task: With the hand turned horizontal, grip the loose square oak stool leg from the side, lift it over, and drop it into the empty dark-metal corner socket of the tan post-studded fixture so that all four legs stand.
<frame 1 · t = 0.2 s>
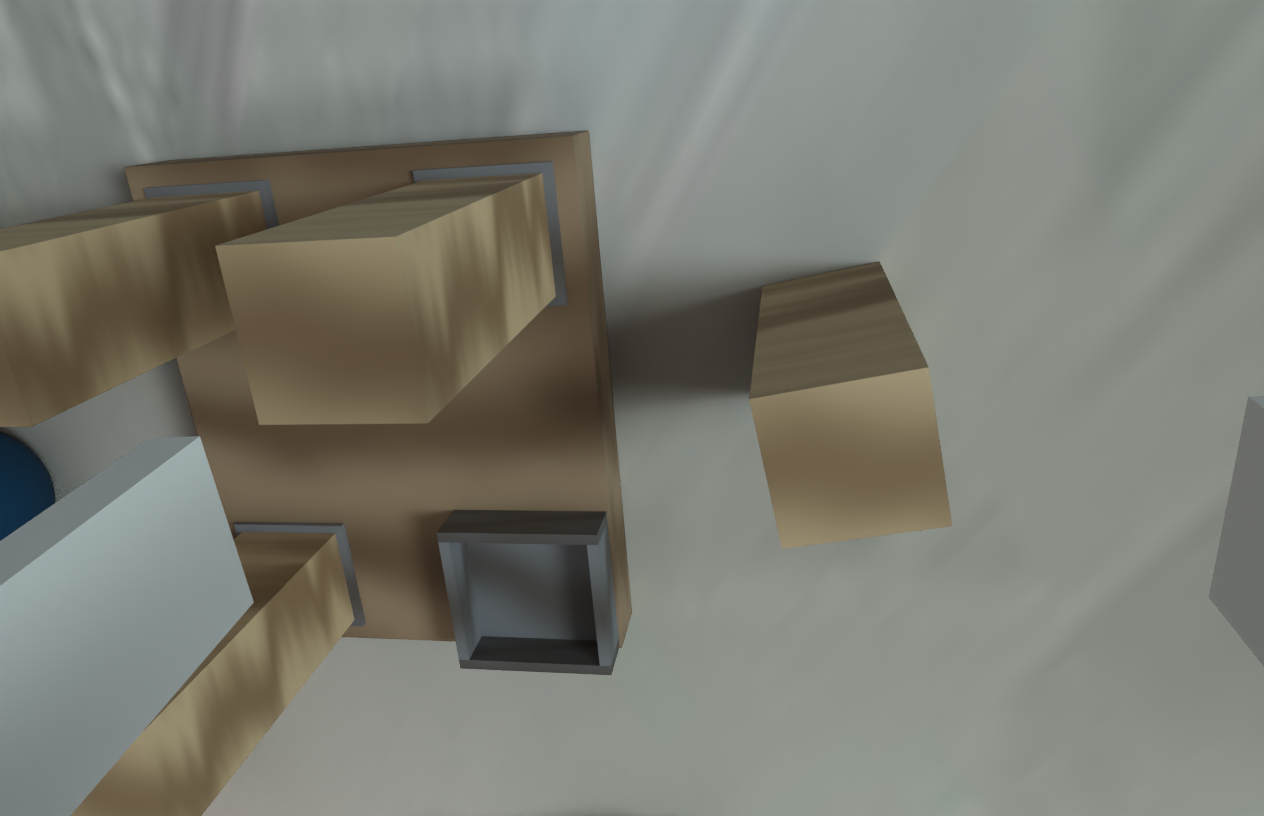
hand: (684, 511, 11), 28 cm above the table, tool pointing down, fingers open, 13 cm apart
christmas ornament: (26, 470, 49), on the table
tan post-studded fixture: (413, 399, 43), on the table
stool leg: (830, 329, 38), on the table
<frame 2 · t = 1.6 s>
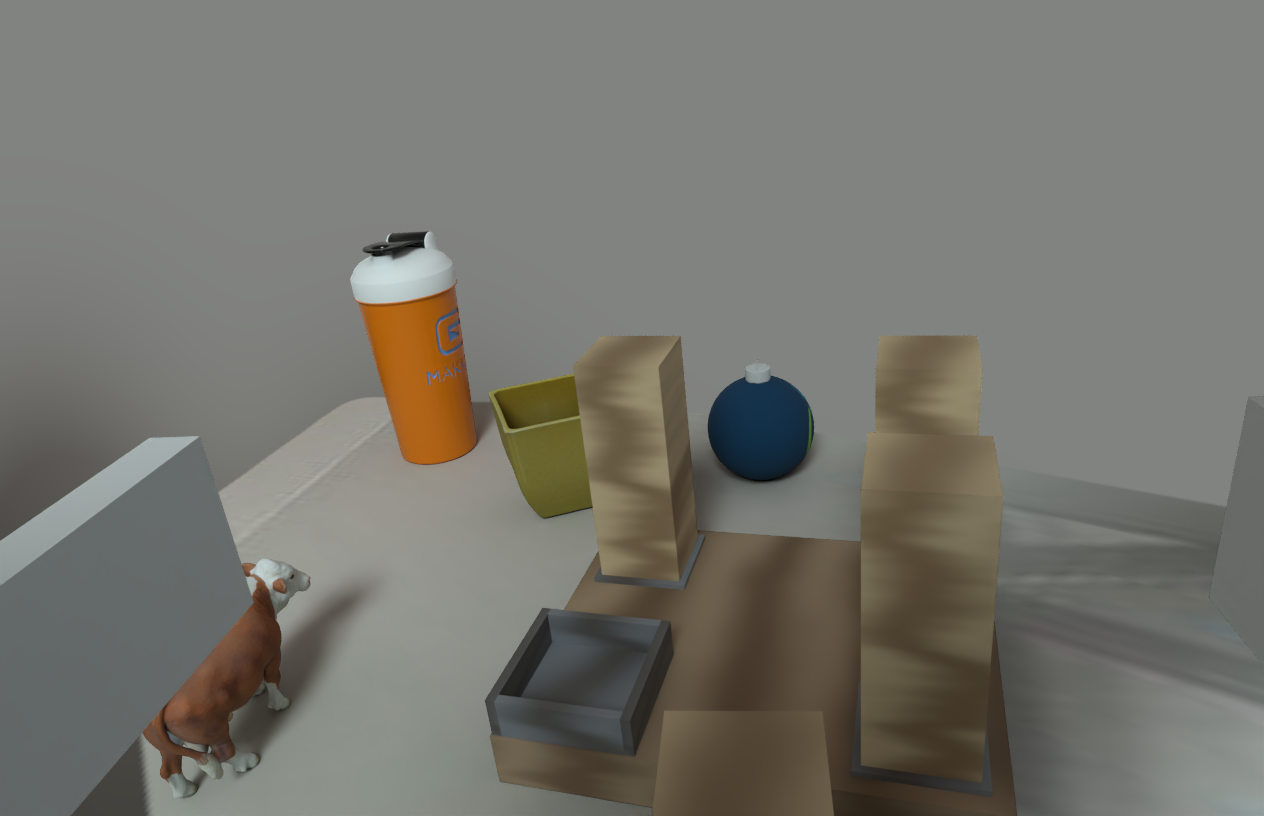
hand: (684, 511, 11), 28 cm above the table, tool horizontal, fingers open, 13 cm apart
christmas ornament: (762, 475, 71), on the table
tan post-studded fixture: (766, 676, 49), on the table
bull figurine: (256, 727, 50), on the table
shaker bottle: (440, 449, 82), on the table
flower pot: (567, 501, 71), on the table
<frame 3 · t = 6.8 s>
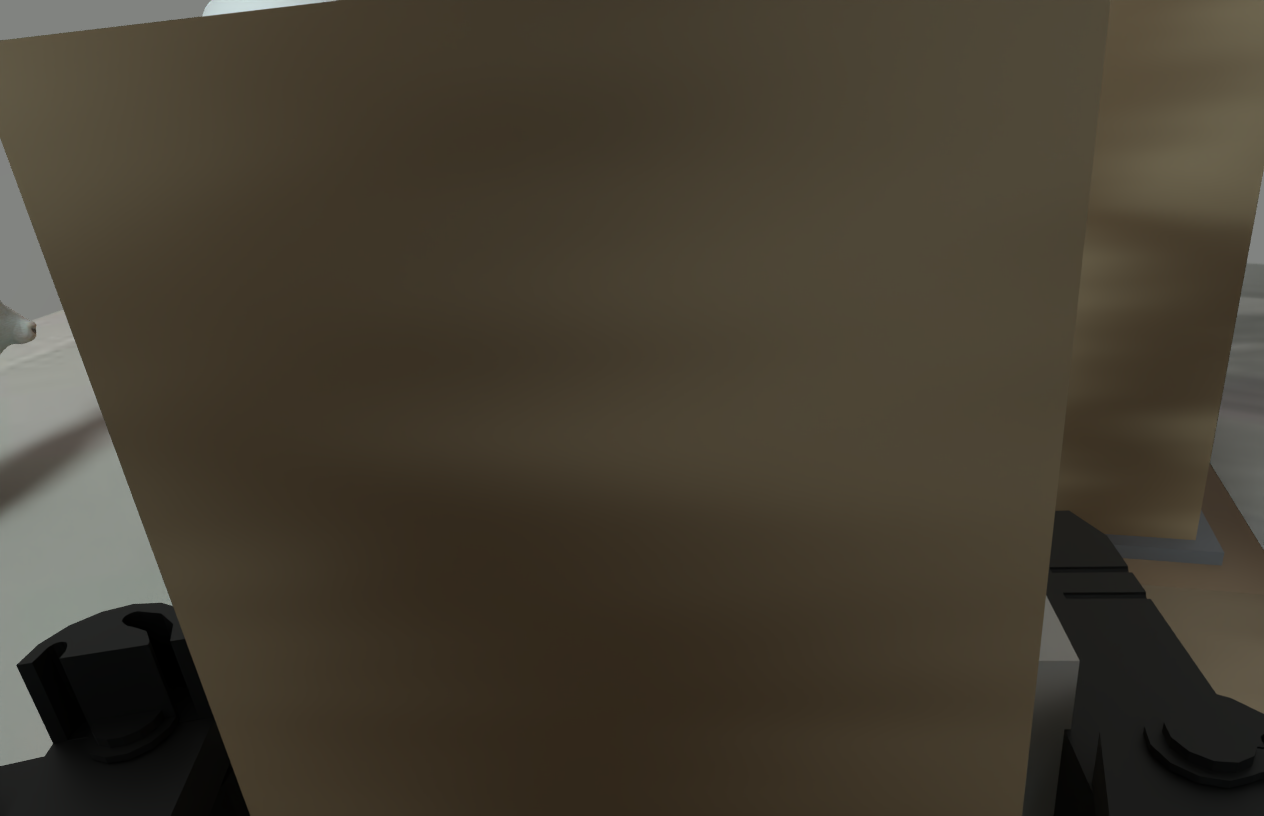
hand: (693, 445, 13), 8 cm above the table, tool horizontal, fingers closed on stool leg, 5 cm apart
tan post-studded fixture: (751, 462, 30), on the table
shaker bottle: (336, 276, 63), on the table
when the fingers open (12 cm above the table, at t = 13.6 s): stool leg drops 1 cm, resting on tan post-studded fixture.
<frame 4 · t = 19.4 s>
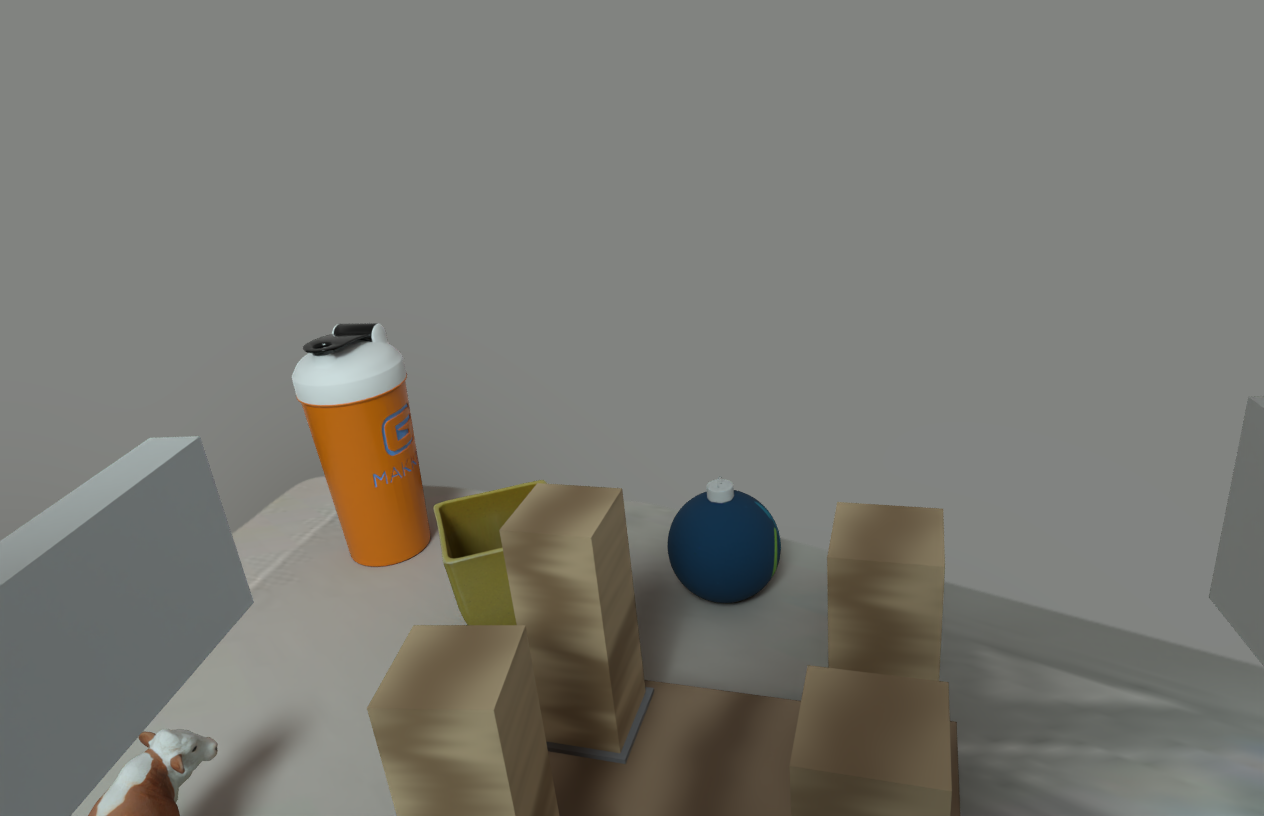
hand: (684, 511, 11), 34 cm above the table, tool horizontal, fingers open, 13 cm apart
christmas ornament: (727, 594, 67), on the table
shaker bottle: (391, 547, 78), on the table
flower pot: (517, 621, 66), on the table
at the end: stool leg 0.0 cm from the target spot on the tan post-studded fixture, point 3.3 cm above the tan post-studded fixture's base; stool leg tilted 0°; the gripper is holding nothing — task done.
